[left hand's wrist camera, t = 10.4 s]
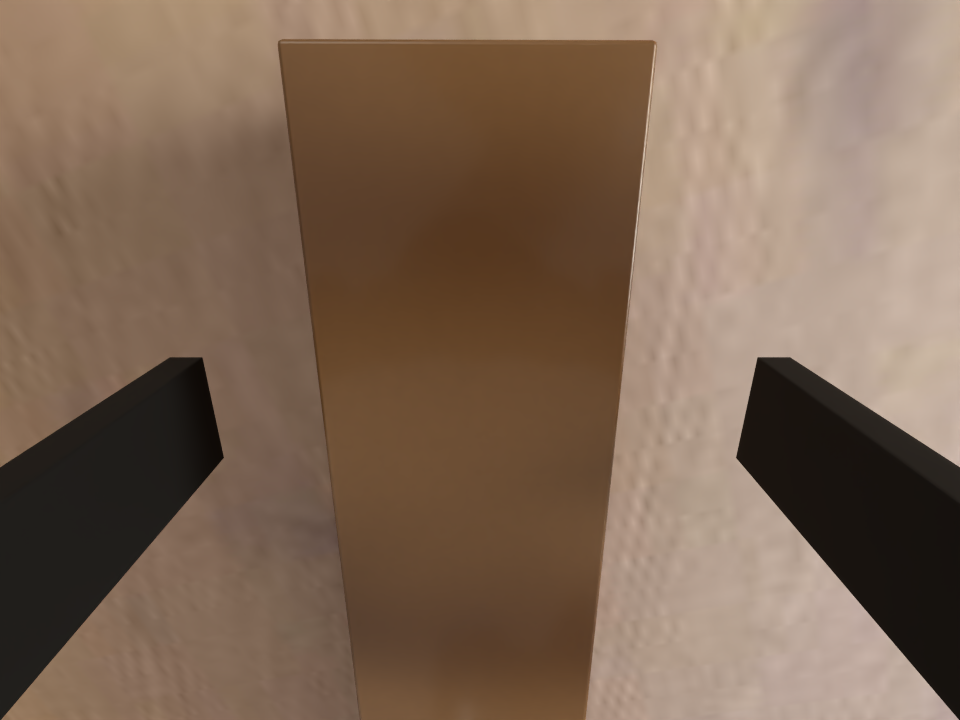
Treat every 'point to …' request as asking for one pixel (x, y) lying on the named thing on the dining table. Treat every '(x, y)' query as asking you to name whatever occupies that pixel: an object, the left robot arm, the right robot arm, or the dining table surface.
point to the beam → (469, 350)
